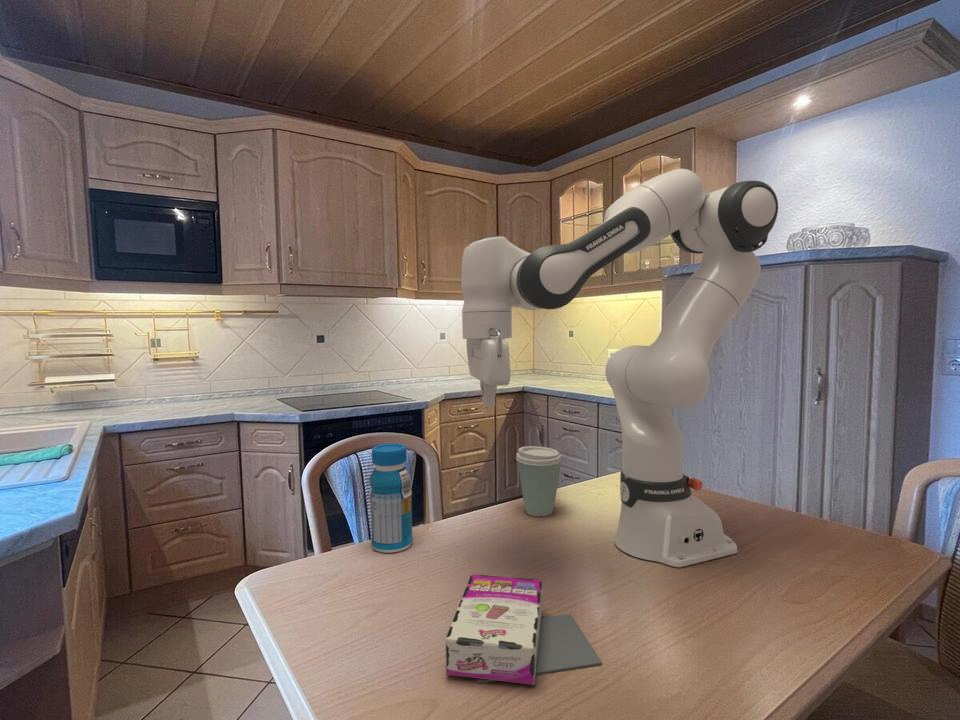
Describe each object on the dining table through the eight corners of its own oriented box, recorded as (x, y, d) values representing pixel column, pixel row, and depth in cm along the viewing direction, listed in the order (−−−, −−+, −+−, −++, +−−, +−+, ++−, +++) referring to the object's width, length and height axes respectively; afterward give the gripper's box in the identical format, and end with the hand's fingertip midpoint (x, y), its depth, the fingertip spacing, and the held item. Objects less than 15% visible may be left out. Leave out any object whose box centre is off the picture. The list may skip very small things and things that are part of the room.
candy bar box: (471, 604, 77) (443, 676, 61) (470, 572, 76) (442, 637, 60) (543, 611, 74) (534, 687, 58) (543, 578, 74) (534, 647, 58)
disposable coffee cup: (550, 501, 122) (549, 442, 121) (571, 517, 112) (570, 452, 111) (510, 507, 119) (509, 446, 118) (528, 524, 108) (527, 456, 107)
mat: (570, 615, 73) (570, 613, 73) (602, 664, 63) (602, 662, 63) (464, 629, 71) (464, 627, 70) (478, 683, 60) (478, 681, 60)
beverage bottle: (377, 558, 93) (373, 454, 92) (366, 541, 101) (362, 445, 100) (419, 548, 97) (416, 448, 96) (405, 533, 105) (402, 440, 104)
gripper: (519, 328, 78) (520, 414, 79) (492, 329, 98) (494, 397, 99) (480, 328, 77) (481, 416, 78) (461, 329, 97) (463, 399, 98)
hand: (488, 405), depth 89 cm, fingers closed
